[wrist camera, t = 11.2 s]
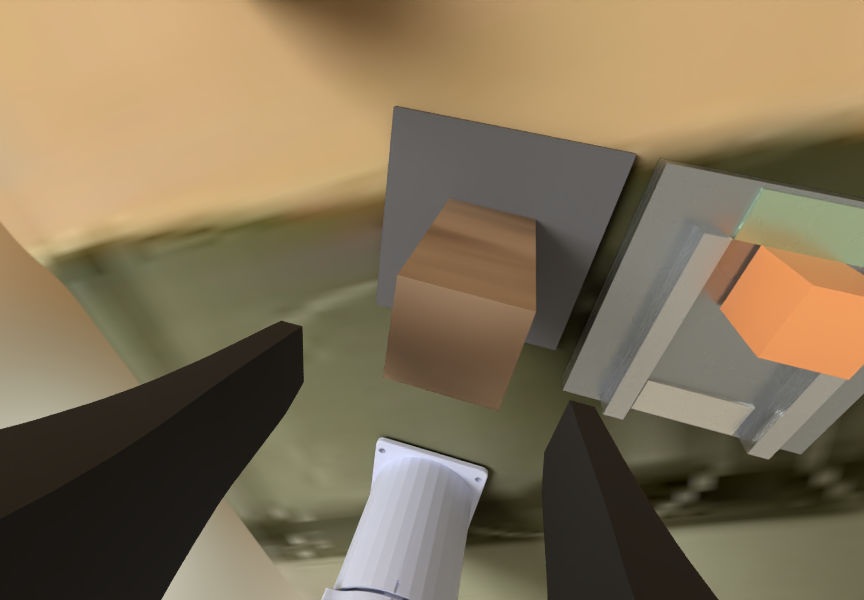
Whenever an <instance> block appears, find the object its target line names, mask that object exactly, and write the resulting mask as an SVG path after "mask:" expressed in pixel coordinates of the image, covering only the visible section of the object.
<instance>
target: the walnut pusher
mask: <svg viewBox="0 0 864 600" xmlns="http://www.w3.org/2000/svg"><path fill="white" fill-rule="evenodd" d="M535 313H536V219H533V218H529V217H525V216H520V215H516V214H512V213H508V212H504V211H500V210H496V209H491V208H487V207H483V206H479V205H475V204H471V203H467V202H462V201H458V200H454V199H450V198H449V199H448V201H447V202H446V204H445V205H444V207H443V208H442V210H441V211H440V213H439V214H438V216H437V217H436V219H435V220H434V222H433V223H432V225H431V226H430V227H429V229H428V230H427V232H426V233H425V235H424V236H423V238H422V239H421V241H420V242H419V244H418V245H417V247H416V248H415V250H414V251H413V253H412V254H411V256H410V257H409V258H408V260H407V261H406V263H405V264H404V266H403V267H402V269H401V270H400V272H399V273H398V275H397V281H396V288H395V295H394V302H393V309H392V316H391V324H390V331H389V338H388V345H387V352H386V359H385V366H384V374H383V377H384V378H388V379H391V380H395V381H398V382H401V383H405V384H408V385H412V386H415V387H418V388H422V389H425V390H428V391H432V392H435V393H439V394H442V395H445V396H449V397H452V398H456V399H459V400H462V401H466V402H469V403H473V404H476V405H479V406H483V407H486V408H490V409H493V410H496V411H499V408H500V406H501V403H502V400H503V398H504V395H505V392H506V390H507V387H508V384H509V382H510V379H511V377H512V374H513V371H514V369H515V366H516V363H517V361H518V358H519V355H520V353H521V350H522V348H523V345H524V342H525V340H526V337H527V334H528V332H529V329H530V326H531V324H532V321H533V319H534V316H535Z"/></svg>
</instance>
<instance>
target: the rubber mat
mask: <svg viewBox="0 0 864 600" xmlns="http://www.w3.org/2000/svg"><path fill="white" fill-rule="evenodd" d="M635 157H636V154H635V153H632V152H627V151H622V150H617V149H612V148H607V147H601V146H596V145H591V144H586V143H581V142H576V141H571V140H566V139H561V138H556V137H551V136H546V135H541V134H536V133H531V132H526V131H521V130H515V129H510V128H505V127H500V126H495V125H490V124H485V123H480V122H475V121H470V120H465V119H460V118H455V117H450V116H445V115H440V114H435V113H430V112H424V111H419V110H414V109H409V108H404V107H399V106H395V107H394V109H393V120H392V132H391V143H390V154H389V165H388V176H387V187H386V198H385V209H384V220H383V232H382V243H381V254H380V265H379V276H378V287H377V298H376V304H378V305H382V306H386V307H390V308H393V302H394V295H395V288H396V281H397V275H398V273H399V272H400V270H401V269H402V267H403V266H404V264H405V263H406V261H407V260H408V258H409V257H410V256H411V254H412V253H413V251H414V250H415V248H416V247H417V245H418V244H419V242H420V241H421V239H422V238H423V236H424V235H425V233H426V232H427V230H428V229H429V227H430V226H431V225H432V223H433V222H434V220H435V219H436V217H437V216H438V214H439V213H440V211H441V210H442V208H443V207H444V205H445V204H446V202H447V201H448V199H449V198H450V199H454V200H458V201H462V202H467V203H471V204H475V205H479V206H483V207H487V208H491V209H496V210H500V211H504V212H508V213H512V214H516V215H520V216H525V217H529V218H533V219H536V313H535V316H534V319H533V321H532V324H531V326H530V329H529V332H528V334H527V337H526V340H525V343H529V344H533V345H537V346H541V347H544V348H548V349H552V350H556V348H557V346H558V343H559V341H560V338H561V336H562V334H563V331H564V329H565V326H566V324H567V321H568V319H569V317H570V314H571V312H572V309H573V307H574V305H575V302H576V300H577V297H578V295H579V292H580V290H581V288H582V285H583V283H584V280H585V278H586V275H587V273H588V271H589V268H590V266H591V263H592V261H593V259H594V256H595V254H596V251H597V249H598V246H599V244H600V242H601V239H602V237H603V234H604V232H605V230H606V227H607V225H608V222H609V220H610V217H611V215H612V213H613V210H614V208H615V205H616V203H617V201H618V198H619V196H620V193H621V191H622V188H623V186H624V184H625V181H626V179H627V176H628V174H629V171H630V169H631V167H632V164H633V162H634V159H635Z"/></svg>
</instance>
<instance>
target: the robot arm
mask: <svg viewBox="0 0 864 600" xmlns="http://www.w3.org/2000/svg"><path fill="white" fill-rule="evenodd" d="M303 382H304V373H303V331H302V326H299V325H295V324H292V323H288V322H284V321H280V322H278V323H276V324H273V325H271V326H269V327H267V328H265V329H263V330H261V331H259V332H257V333H255V334H253V335H251V336H249V337H247V338H245V339H243V340H241V341H239V342H237V343H235V344H233V345H230V346H228V347H226V348H224V349H222V350H220V351H218V352H216V353H214V354H212V355H210V356H208V357H205V358H203V359H201V360H199V361H197V362H194V363H192V364H190V365H187V366H185V367H183V368H181V369H178V370H176V371H174V372H171V373H169V374H167V375H164V376H162V377H160V378H158V379H155V380H153V381H150V382H148V383H145V384H142V385H140V386H137V387H135V388H132V389H129V390H127V391H124V392H121V393H118V394H115V395H113V396H110V397H107V398H105V399H101V400H98V401H95V402H92V403H89V404H86V405H83V406H79V407H76V408H73V409H69V410H66V411H63V412H60V413H57V414H53V415H50V416H47V417H43V418H40V419H37V420H33V421H30V422H26V423H23V424H19V425H15V426H11V427H7V428H4V429H0V600H161V599H162V597H163V596H164V594H165V592H166V590H167V589H168V587H169V585H170V583H171V581H172V580H173V578H174V576H175V575H176V573H177V571H178V570H179V568H180V566H181V565H182V563H183V561H184V560H185V558H186V556H187V555H188V553H189V551H190V550H191V548H192V546H193V544H194V543H195V541H196V539H197V538H198V536H199V535H200V533H201V531H202V530H203V528H204V527H205V525H206V523H207V521H208V520H209V519H210V517H211V515H212V514H213V512H214V511H215V509H216V507H217V506H218V504H219V503H220V501H221V500H222V498H223V497H224V495H225V494H226V493H227V491H228V490H229V488H230V487H231V485H232V484H233V483H234V481H235V480H236V479H237V478H238V476H239V475H240V474H241V472H242V471H243V470H244V468H245V467H246V466H247V464H248V463H249V462H250V460H251V459H252V458H253V456H254V455H255V454H256V452H257V451H258V450H259V449H260V447H261V446H262V445H263V443H264V442H265V441H266V439H267V438H268V437H269V435H270V434H271V433H272V431H273V430H274V429H275V427H276V426H277V425H278V423H279V422H280V421H281V419H282V418H283V416H284V415H285V414H286V412H287V410H288V409H289V407H290V405H291V404H292V402H293V400H294V398H295V397H296V395H297V393H298V391H299V389H300V388H301V386H302V384H303ZM487 477H488V470H487V469H486V468H484V467H482V466H478V465H475V464H472V463H468V462H465V461H462V460H458V459H455V458H452V457H448V456H445V455H441V454H438V453H435V452H431V451H428V450H425V449H421V448H418V447H415V446H411V445H408V444H405V443H401V442H398V441H394V440H391V439H388V438H384V437H382V438H379V439H378V442H377V444H376V452H375V461H374V469H373V478H372V486H371V493H370V496H369V499H368V501H367V504H366V506H365V509H364V511H363V514H362V517H361V519H360V522H359V524H358V527H357V529H356V532H355V534H354V537H353V540H352V542H351V545H350V547H349V550H348V552H347V555H346V558H345V560H344V563H343V565H342V568H341V570H340V573H339V576H338V578H337V581H336V583H335V586H334V588H333V589H331V588H326V590H325V592H324V595H323V597H322V600H458V593H459V586H460V579H461V572H462V566H463V559H464V552H465V545H466V538H467V532H468V528H469V525H470V522H471V520H472V517H473V514H474V512H475V509H476V506H477V504H478V501H479V499H480V496H481V493H482V491H483V488H484V485H485V483H486V480H487ZM542 503H543V522H544V539H545V556H546V572H547V589H548V600H718V599H717V597H716V596H715V595H714V593H713V592H712V591H711V589H710V588H709V587H708V585H707V584H706V583H705V581H704V580H703V579H702V577H701V576H700V575H699V573H698V572H697V571H696V569H695V568H694V567H693V565H692V564H691V563H690V561H689V560H688V558H687V557H686V556H685V554H684V553H683V551H682V550H681V549H680V547H679V546H678V544H677V543H676V541H675V540H674V538H673V537H672V535H671V534H670V532H669V531H668V529H667V528H666V526H665V525H664V523H663V522H662V521H661V519H660V518H659V516H658V515H657V513H656V512H655V510H654V508H653V507H652V505H651V504H650V502H649V501H648V499H647V497H646V496H645V494H644V492H643V491H642V489H641V487H640V486H639V484H638V482H637V481H636V479H635V477H634V476H633V474H632V472H631V471H630V469H629V467H628V466H627V464H626V462H625V460H624V459H623V457H622V455H621V453H620V452H619V450H618V448H617V446H616V445H615V443H614V441H613V439H612V437H611V436H610V434H609V432H608V430H607V428H606V427H605V425H604V423H603V421H602V419H601V418H600V416H599V414H598V412H597V411H596V409H595V407H593V406H589V405H585V404H582V403H578V402H574V401H571V400H570V401H569V403H568V405H567V407H566V409H565V411H564V413H563V415H562V417H561V419H560V421H559V423H558V426H557V428H556V430H555V432H554V434H553V436H552V438H551V440H550V442H549V444H548V446H547V448H546V450H545V452H544V466H543V482H542Z"/></svg>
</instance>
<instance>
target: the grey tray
mask: <svg viewBox="0 0 864 600" xmlns="http://www.w3.org/2000/svg"><path fill="white" fill-rule="evenodd" d="M761 245H762V246H767V247H772V248H776V249H781V250H786V251H790V252H795V253H799V254H804V255H809V256H813V257H818V258H823V259H827V260H832V261H836V262H841V263H845V264H847V265H848V266H850V267H851V268H853V269H855V270H856V271H858V272H860V273H861V274H863V275H864V198H859V197H854V196H849V195H844V194H839V193H834V192H829V191H824V190H819V189H814V188H809V187H804V186H799V185H794V184H789V183H784V182H778V181H773V180H768V179H763V178H758V177H753V176H748V175H743V174H738V173H733V172H728V171H723V170H718V169H713V168H708V167H703V166H698V165H693V164H687V163H682V162H677V161H672V160H667V159H662V158H660V159H659V161H658V163H657V166H656V168H655V170H654V172H653V175H652V177H651V179H650V181H649V184H648V186H647V188H646V190H645V193H644V195H643V197H642V199H641V201H640V204H639V206H638V208H637V210H636V213H635V215H634V217H633V219H632V222H631V224H630V226H629V228H628V231H627V233H626V235H625V237H624V240H623V242H622V244H621V246H620V249H619V251H618V253H617V255H616V258H615V260H614V262H613V264H612V266H611V269H610V271H609V273H608V275H607V278H606V280H605V282H604V284H603V287H602V289H601V291H600V293H599V296H598V298H597V300H596V302H595V305H594V307H593V309H592V311H591V314H590V316H589V318H588V320H587V323H586V325H585V327H584V329H583V332H582V334H581V336H580V338H579V340H578V343H577V345H576V347H575V349H574V352H573V354H572V356H571V358H570V361H569V363H568V365H567V367H566V370H565V372H564V374H563V376H562V387H563V391H567V392H571V393H575V394H578V395H582V396H586V397H589V398H593V399H597V400H600V401H601V406H602V411H603V414H604V415H607V416H611V417H615V418H618V419H622V420H623V419H624V417H625V416H626V414H627V412H628V411H629V409H634V410H638V411H641V412H645V413H649V414H652V415H656V416H660V417H664V418H667V419H671V420H675V421H678V422H682V423H686V424H690V425H693V426H697V427H701V428H704V429H708V430H712V431H716V432H719V433H723V434H727V435H730V436H734V437H738V438H739V440H740V442H741V443H742V445H743V447H744V449H745V451H746V452H747V454H750V455H754V456H758V457H761V458H765V459H770V458H771V457H772V456H773V455H774V454H775V453H776V452H777V451H778V450H779V449H782V450H786V451H790V452H793V453H797V454H802V453H803V452H804V451H805V450H806V449H807V448H808V447H809V446H810V445H811V444H812V443H813V442H814V441H815V440H816V439H817V438H818V437H819V436H820V435H821V434H822V433H823V432H825V431H826V430H827V429H828V428H829V427H830V426H831V425H832V424H833V423H834V422H835V421H836V420H837V419H838V418H839V417H840V416H841V415H842V414H843V413H844V412H845V411H846V410H847V409H848V408H849V407H850V406H851V405H852V404H853V403H855V402H856V401H857V400H858V399H859V398H860V397H861V396H862V395H863V394H864V365H863V366H862V367H861V368H860V369H859V370H858V371H857V372H856V373H855V374H854V375H853V376H852V377H851V378H850V379H849V380H847V379H843V378H839V377H835V376H831V375H827V374H823V373H819V372H815V371H810V370H806V369H802V368H798V367H794V366H790V365H786V364H782V363H778V362H774V361H770V360H766V359H762V358H758V357H757V356H756V355H755V354H754V352H753V351H752V350H751V348H750V347H749V346H748V345H747V343H746V342H745V341H744V339H743V338H742V337H741V336H740V334H739V333H738V332H737V330H736V329H735V328H734V327H733V325H732V324H731V323H730V321H729V320H728V319H727V318H726V316H725V315H724V314H723V312H722V311H721V310H720V307H721V306H722V304H723V303H724V301H725V300H726V298H727V297H728V295H729V294H730V292H731V291H732V289H733V288H734V286H735V285H736V283H737V281H738V280H739V278H740V277H741V275H742V274H743V272H744V271H745V269H746V268H747V266H748V265H749V263H750V262H751V260H752V259H753V257H754V256H755V254H756V252H757V251H758V249H759V248H760V246H761Z"/></svg>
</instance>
